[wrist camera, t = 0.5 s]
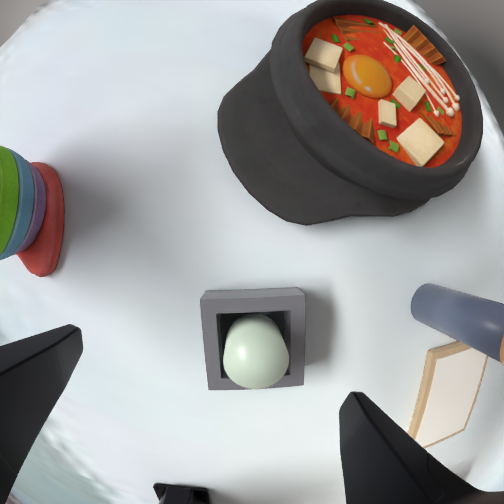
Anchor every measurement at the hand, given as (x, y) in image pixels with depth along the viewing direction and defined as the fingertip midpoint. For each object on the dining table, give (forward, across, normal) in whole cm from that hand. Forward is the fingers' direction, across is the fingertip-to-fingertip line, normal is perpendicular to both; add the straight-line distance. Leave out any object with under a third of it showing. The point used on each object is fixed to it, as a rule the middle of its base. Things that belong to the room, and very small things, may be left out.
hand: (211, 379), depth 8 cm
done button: (+11, -2, +6) cm, 13 cm away
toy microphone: (+14, -18, +1) cm, 22 cm away
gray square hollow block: (+12, -2, +6) cm, 14 cm away
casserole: (+18, -7, -13) cm, 23 cm away
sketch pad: (+11, -27, +11) cm, 31 cm away
